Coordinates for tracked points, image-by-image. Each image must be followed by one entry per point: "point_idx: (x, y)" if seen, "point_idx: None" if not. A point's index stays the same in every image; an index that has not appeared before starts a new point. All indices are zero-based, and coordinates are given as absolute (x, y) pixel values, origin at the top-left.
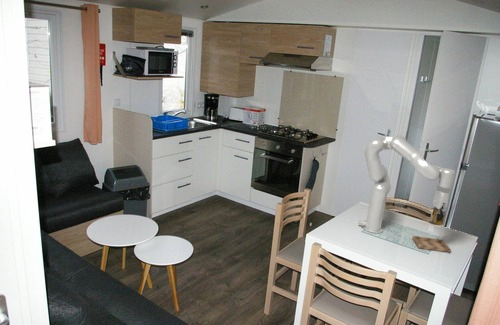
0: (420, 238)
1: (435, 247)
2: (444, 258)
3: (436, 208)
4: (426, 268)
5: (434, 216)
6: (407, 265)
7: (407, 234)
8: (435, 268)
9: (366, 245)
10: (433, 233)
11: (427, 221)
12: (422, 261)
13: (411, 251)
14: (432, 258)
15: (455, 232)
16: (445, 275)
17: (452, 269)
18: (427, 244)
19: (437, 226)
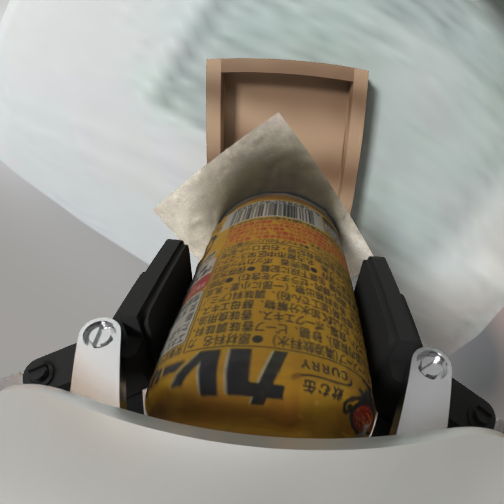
0: (348, 118)
1: (207, 163)
2: (136, 181)
3: (231, 406)
4: (26, 74)
5: (239, 246)
6: (31, 7)
7: (430, 81)
8: (35, 110)
9: None
10: (451, 260)
11: (293, 133)
12: (68, 60)
13: (159, 14)
14: (111, 114)
15: (443, 350)
16: (10, 139)
17: (53, 180)
18: None
19: (162, 212)
